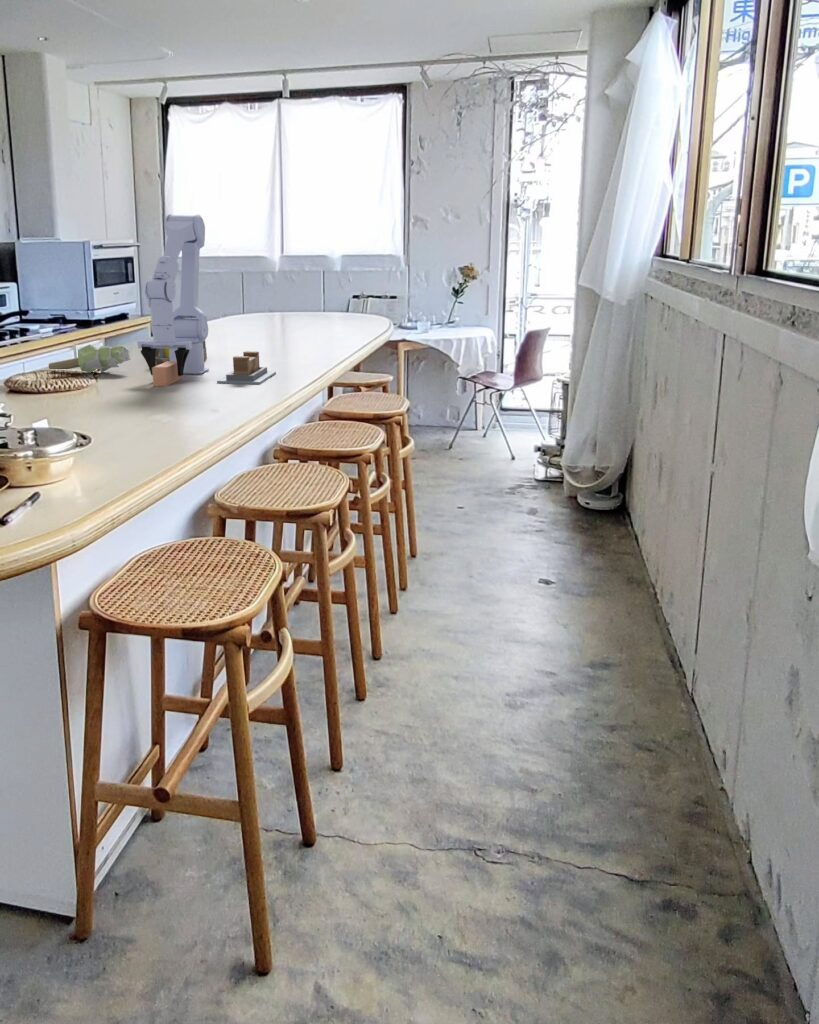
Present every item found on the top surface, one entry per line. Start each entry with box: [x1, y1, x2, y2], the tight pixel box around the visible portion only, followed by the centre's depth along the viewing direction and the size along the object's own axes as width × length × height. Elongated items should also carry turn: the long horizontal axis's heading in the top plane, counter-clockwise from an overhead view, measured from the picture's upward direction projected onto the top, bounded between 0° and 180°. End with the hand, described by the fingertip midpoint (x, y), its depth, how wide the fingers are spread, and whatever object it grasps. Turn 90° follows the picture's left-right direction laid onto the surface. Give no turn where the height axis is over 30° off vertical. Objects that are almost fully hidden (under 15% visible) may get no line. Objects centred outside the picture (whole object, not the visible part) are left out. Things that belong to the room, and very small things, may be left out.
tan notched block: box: [232, 350, 261, 375], centre depth 237 cm, size 12×4×6 cm, turn 174°
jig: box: [216, 366, 277, 385], centre depth 238 cm, size 12×18×2 cm, turn 175°
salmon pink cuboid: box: [152, 361, 182, 387], centre depth 231 cm, size 12×4×5 cm, turn 176°
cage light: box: [155, 340, 208, 366], centre depth 264 cm, size 15×8×30 cm
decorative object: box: [48, 344, 131, 374], centre depth 244 cm, size 9×10×25 cm
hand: (167, 375), depth 231 cm, fingers open, 7 cm apart
